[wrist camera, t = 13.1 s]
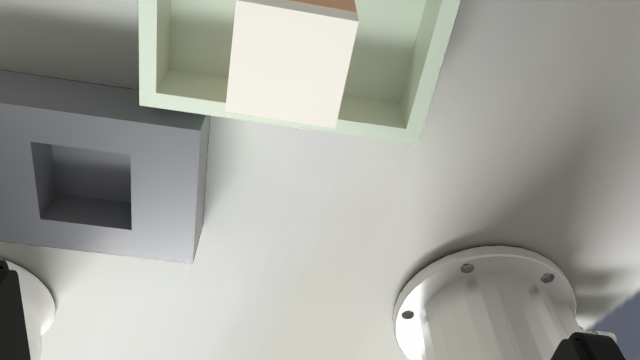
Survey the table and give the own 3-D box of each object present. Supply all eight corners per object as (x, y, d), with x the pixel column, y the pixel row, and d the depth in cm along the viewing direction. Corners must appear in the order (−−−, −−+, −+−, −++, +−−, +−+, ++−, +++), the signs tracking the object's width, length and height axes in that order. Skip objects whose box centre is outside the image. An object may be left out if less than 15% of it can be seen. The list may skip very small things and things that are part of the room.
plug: (345, -47, 27) (358, 21, 19) (329, 35, 29) (335, 128, 21) (260, -63, 27) (236, 0, 18) (251, 21, 29) (225, 111, 20)
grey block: (210, 100, 32) (200, 130, 29) (202, 227, 37) (192, 263, 34) (-15, 68, 31) (-50, 96, 28) (7, 203, 36) (-20, 239, 33)
